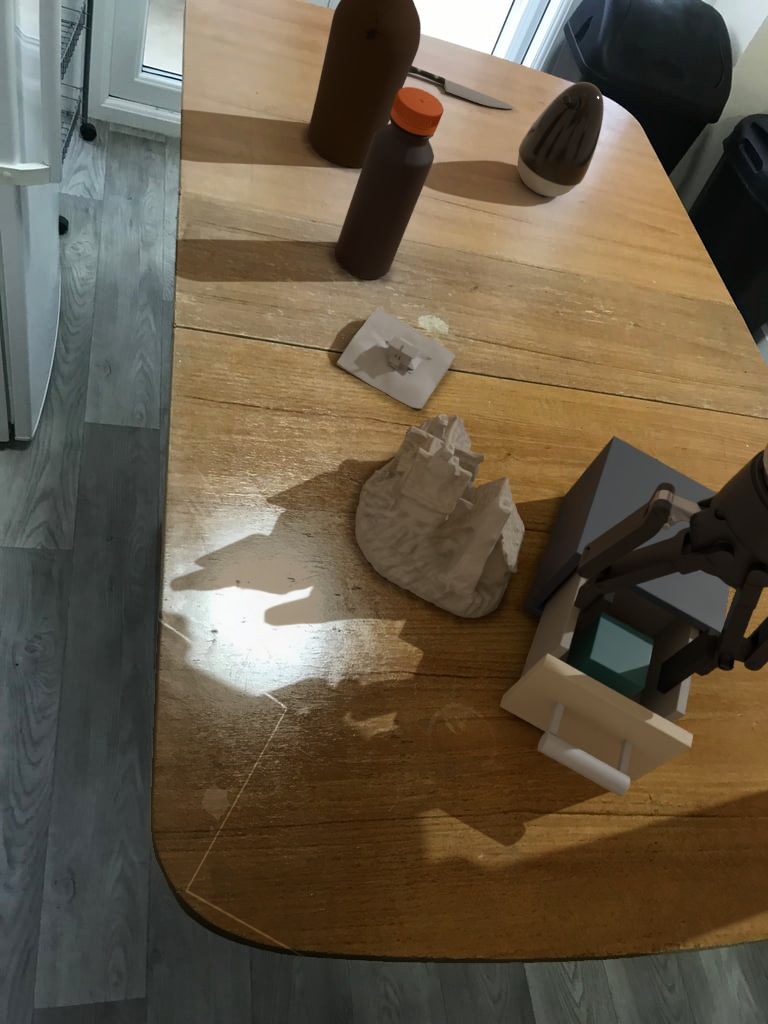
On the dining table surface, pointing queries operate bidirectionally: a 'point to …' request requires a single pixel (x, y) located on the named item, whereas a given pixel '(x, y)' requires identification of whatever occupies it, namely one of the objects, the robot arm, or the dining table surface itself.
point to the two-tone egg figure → (562, 141)
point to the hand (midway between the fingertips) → (617, 652)
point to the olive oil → (362, 75)
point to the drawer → (602, 694)
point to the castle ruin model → (440, 522)
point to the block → (612, 655)
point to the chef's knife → (462, 90)
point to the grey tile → (396, 359)
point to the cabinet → (604, 503)
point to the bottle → (389, 185)
